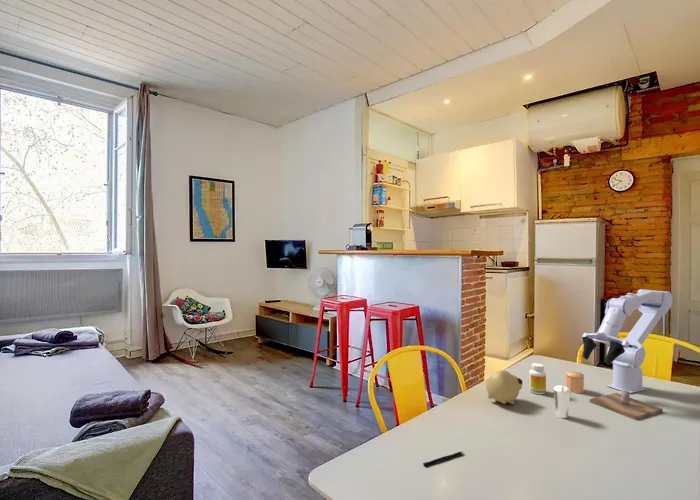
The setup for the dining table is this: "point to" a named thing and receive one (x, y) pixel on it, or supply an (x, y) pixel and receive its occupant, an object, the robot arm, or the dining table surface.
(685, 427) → the dining table surface
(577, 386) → the wire nut cap
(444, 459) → the black stick
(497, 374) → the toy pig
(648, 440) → the dining table surface
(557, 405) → the milkshake
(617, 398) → the post block
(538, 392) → the supplement bottle
